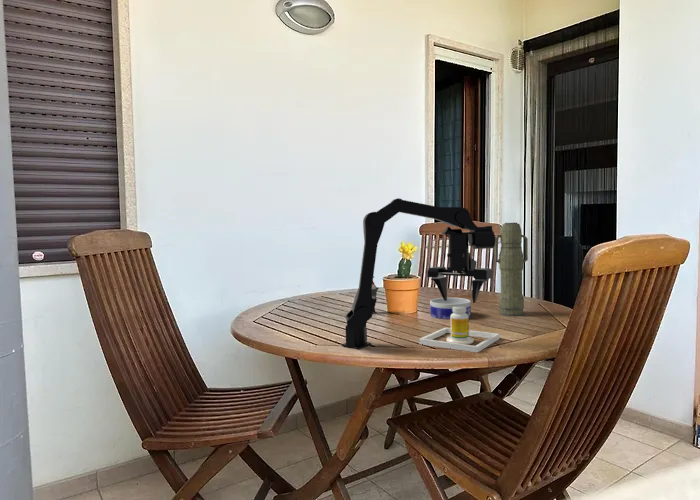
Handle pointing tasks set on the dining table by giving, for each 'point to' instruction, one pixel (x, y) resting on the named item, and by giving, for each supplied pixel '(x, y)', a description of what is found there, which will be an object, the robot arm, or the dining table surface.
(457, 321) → the supplement bottle
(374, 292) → the sundae
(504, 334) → the dining table surface
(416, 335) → the dining table surface
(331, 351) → the dining table surface
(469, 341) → the plinth
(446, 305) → the dog bowl
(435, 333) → the corral
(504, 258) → the thermos
